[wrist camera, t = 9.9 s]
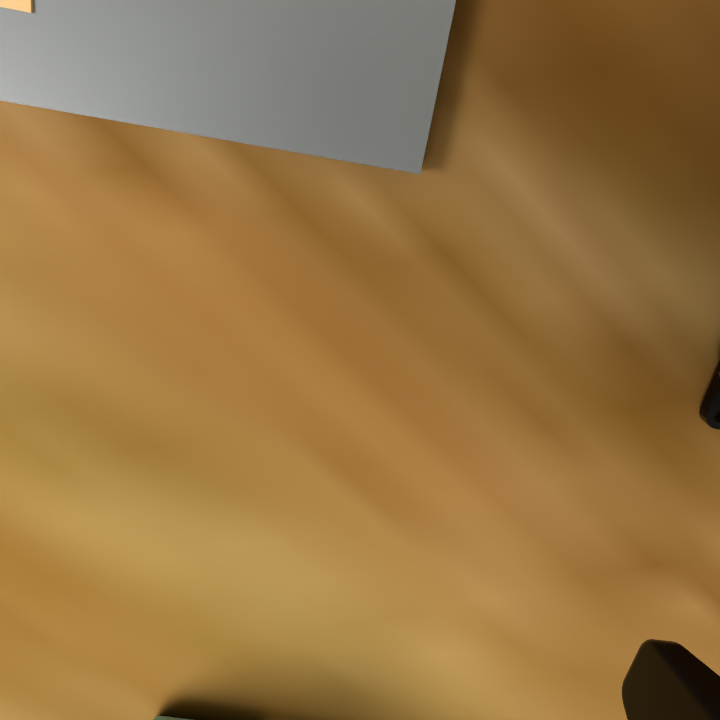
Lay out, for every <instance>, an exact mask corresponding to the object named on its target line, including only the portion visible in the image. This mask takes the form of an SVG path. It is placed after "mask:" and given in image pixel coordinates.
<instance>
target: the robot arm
mask: <svg viewBox="0 0 720 720" xmlns="http://www.w3.org/2000/svg"><path fill="white" fill-rule="evenodd" d="M719 409H720V363H719V365H718V368H717V370H716V373H715V375H714V377H713V380H712V382H711V384H710V387H709V389H708V391H707V394H706V396H705V398H704V401H703V403H702V405H701V408H700V412H699V413H700V417H701V419H702V420H703V421H704V422H705V423H707V424H708V425H709V426H710V427H712V428H715V429H720V414H718V415H716V416H714V414H715V413H716V411H718V410H719ZM622 699H623V704H624V708H625V712H626V715H627V719H628V720H720V676H719V675H717V674H716V673H715V672H714V671H712V670H711V669H710V668H709V667H707V666H706V665H705V664H704V663H703V662H701V661H700V660H699V659H698V658H696V657H695V656H694V655H693V654H691V653H690V652H689V651H688V650H687V649H685V648H684V647H683V646H681V645H680V644H678V643H676V642H672V641H663V640H654V639H650V640H646V641H645V642H644V643H642V645H641V646H640V648H639V650H638V652H637V654H636V656H635V658H634V660H633V662H632V664H631V666H630V668H629V671H628V673H627V675H626V677H625V679H624V681H623V686H622Z"/></svg>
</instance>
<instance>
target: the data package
mask: <svg viewBox="0 0 720 720" xmlns="http://www.w3.org/2000/svg"><path fill="white" fill-rule="evenodd" d="M153 720H193V719H184V718H175V717H166V716H157V717H155V718H154V719H153Z"/></svg>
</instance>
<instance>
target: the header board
mask: <svg viewBox="0 0 720 720" xmlns="http://www.w3.org/2000/svg"><path fill="white" fill-rule="evenodd" d="M455 3H456V0H0V100H1V101H6V102H12V103H18V104H23V105H29V106H35V107H41V108H46V109H52V110H58V111H63V112H69V113H75V114H80V115H86V116H92V117H97V118H103V119H109V120H114V121H120V122H126V123H132V124H137V125H143V126H149V127H154V128H160V129H166V130H171V131H177V132H183V133H188V134H194V135H200V136H205V137H211V138H217V139H223V140H228V141H234V142H240V143H245V144H251V145H257V146H262V147H268V148H274V149H279V150H285V151H291V152H296V153H302V154H308V155H313V156H319V157H325V158H331V159H336V160H342V161H348V162H353V163H359V164H365V165H370V166H376V167H382V168H387V169H393V170H399V171H404V172H410V173H416V174H421V169H422V164H423V159H424V154H425V150H426V145H427V140H428V135H429V130H430V125H431V120H432V115H433V111H434V106H435V101H436V96H437V91H438V86H439V81H440V76H441V72H442V67H443V62H444V57H445V52H446V47H447V42H448V37H449V33H450V28H451V23H452V18H453V13H454V8H455Z"/></svg>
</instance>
